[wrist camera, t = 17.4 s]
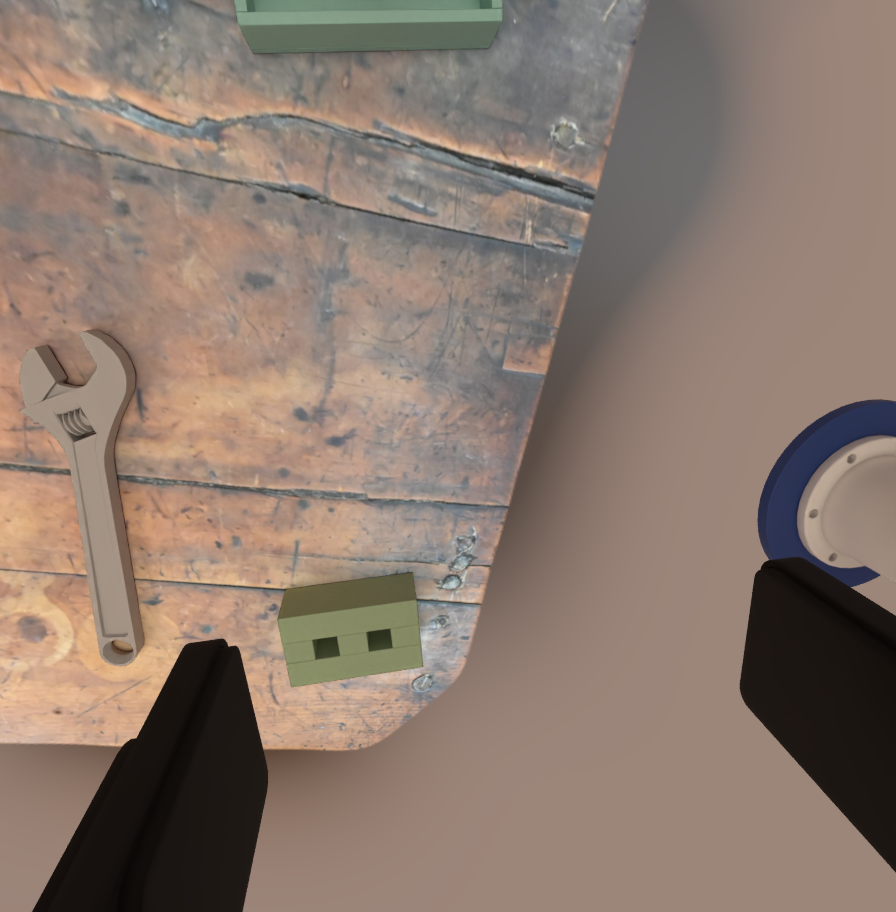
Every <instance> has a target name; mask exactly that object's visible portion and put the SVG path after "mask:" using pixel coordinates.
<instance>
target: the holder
mask: <svg viewBox="0 0 896 912" xmlns="http://www.w3.org/2000/svg"><path fill="white" fill-rule="evenodd" d="M277 621H278V626H279V631H280V636H281V641H282V644H283V650H284V655H285V659H286V663H287V664H286V665H287V670H288V674H289V679H290V684H291V687H297V686H304V685H310V684H317V683H323V682H330V681H336V680H342V679H349V678H355V677H362V676H368V675H375V674H381V673H387V672H394V671H400V670H407V669H413V668H420V667H423V658H422V649H421V639H420V629H419V619H418V609H417V600H416V593H415V586H414V579H413V573H412V572H411V573H404V574H397V575H389V576H382V577H374V578H367V579H359V580H352V581H345V582H337V583H330V584H322V585H315V586H307V587H300V588H293V589H286V590H285V593H284V597H283V600H282V604H281V608H280V611H279V615H278V618H277Z"/></svg>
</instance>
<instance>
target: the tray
mask: <svg viewBox="0 0 896 912" xmlns="http://www.w3.org/2000/svg"><path fill="white" fill-rule="evenodd" d="M234 2H235V9H236V12H237V13H236V14H237V20H238V25H239V27H240V29H241V31H242V33H243V35H244V37H245V39H246V41H247V43H248V45H249V47H250V49H251V51H252V53H254V54H255V53H300V52H345V51H390V50H435V49H480V48H489V47H490V45H491V43H492V41H493V39H494V37H495V35H496V33H497V31H498V29H499V27H500V25H501V23H502V21H503V13H502V0H234Z"/></svg>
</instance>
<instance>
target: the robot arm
mask: <svg viewBox="0 0 896 912" xmlns="http://www.w3.org/2000/svg"><path fill="white" fill-rule="evenodd" d="M797 528H798V533H799V537H800V539H801V541H802V543H803V545H804V547H805V548H806V549H807V550H808V551H809V553H810V554H812V555H813V556H815V557H816V558H817V559H819V560H821V561H823V562H824V563H826V564H828V565H831V566H835V567H839V568H855V567H862V566H866V567H868V568H870V569H872V570H873V571H875V572H877V573H879V574H880V575H882V576H884V577H886V578H887V579H889V580H891V581H893V582H895V583H896V437H894V436H886V435H877V436H868V437H865V438H862V439H859V440H855V441H853V442H851V443H849V444H847V445H845V446H843V447H842V448H841V449H839V450H838V451H836V452H835V453H833V454H832V455H831V456H830V457H829V458H828V459H827V460H826V461H824V462H823V463H822V464H821V465H820V467H819V468H818V469H817V470H816V472H815V473H814V474H813V475H812V477H811V478H810V480H809V482H808V484H807V485H806V487H805V489H804V491H803V494H802V497H801V499H800V502H799V507H798V512H797ZM740 692H741V695H742V698H743V700H744V702H745V704H746V705H747V706H748V708H749V709H750V710H751V711H752V712H753V713H754V715H755V716H756V717H757V718H758V719H759V720H760V721H761V722H762V723H763V725H764V726H765V727H766V728H767V729H768V730H769V731H770V732H771V734H772V735H773V736H774V737H775V738H776V739H777V740H778V741H779V742H780V744H781V745H782V746H783V747H784V748H785V749H786V750H787V751H788V752H789V753H790V755H791V756H792V757H793V758H794V759H795V760H796V761H797V762H798V764H799V765H800V766H801V767H802V768H803V769H804V770H805V771H806V773H807V774H808V775H809V776H810V777H811V778H812V779H813V780H814V781H815V783H816V784H817V785H818V786H819V787H820V788H821V789H822V791H823V792H824V793H825V794H826V795H827V796H828V797H829V798H830V799H831V801H832V802H833V803H834V804H835V805H836V806H837V807H838V808H839V809H840V811H841V812H842V813H843V814H844V815H845V816H846V817H847V818H848V819H849V821H850V822H851V823H852V824H853V825H854V826H855V827H856V828H857V830H858V831H859V832H860V833H861V834H862V835H863V836H864V837H865V839H867V841H868V842H869V843H870V844H871V845H872V846H873V847H874V849H876V851H877V852H878V853H879V854H880V855H881V856H882V857H883V859H884V860H886V862H887V863H888V864H889V865H890V866H891V868H892V869H893V870H894V871H895V872H896V616H895V615H893V614H892V613H890V612H889V611H887V610H886V609H884V608H882V607H881V606H879V605H878V604H876V603H874V602H873V601H871V600H870V599H868V598H866V597H865V596H863V595H862V594H860V593H858V592H857V591H855V590H854V589H852V588H851V587H849V586H847V585H846V584H844V583H843V582H841V581H839V580H838V579H836V578H835V577H833V576H831V575H830V574H828V573H827V572H825V571H824V570H822V569H820V568H819V567H817V566H816V565H814V564H812V563H811V562H809V561H808V560H806V559H804V558H802V557H788V558H781V559H775V560H768V561H766V562H764V564H763V565H762V567H761V570H759V571H758V572H757V573H756V574H755V578H754V585H753V592H752V599H751V606H750V614H749V621H748V629H747V635H746V643H745V650H744V658H743V665H742V672H741V679H740ZM267 787H268V769H267V764H266V760H265V756H264V751H263V747H262V743H261V738H260V734H259V730H258V726H257V722H256V717H255V713H254V709H253V705H252V700H251V696H250V692H249V688H248V684H247V679H246V675H245V671H244V667H243V663H242V658H241V654H240V651H239V648H238V647H237V646H230V647H228V644H227V642H226V641H225V640H224V639H215V640H208V641H201V642H194V643H188V644H186V645H185V646H184V648H183V649H182V651H181V653H180V655H179V657H178V659H177V661H176V663H175V665H174V667H173V668H172V670H171V672H170V674H169V676H168V678H167V680H166V682H165V684H164V686H163V688H162V690H161V692H160V694H159V696H158V698H157V699H156V701H155V703H154V705H153V707H152V709H151V711H150V713H149V715H148V717H147V719H146V721H145V723H144V725H143V727H142V729H141V731H140V732H139V734H138V736H137V738H135V739H130V740H129V741H128V742H126V743H125V744H124V745H123V746H122V748H121V750H120V751H119V752H118V754H117V755H116V757H115V759H114V761H113V763H112V765H111V767H110V769H109V770H108V772H107V774H106V776H105V778H104V780H103V781H102V783H101V785H100V787H99V789H98V791H97V792H96V794H95V796H94V798H93V800H92V802H91V804H90V805H89V807H88V809H87V811H86V813H85V815H84V817H83V818H82V820H81V822H80V824H79V826H78V828H77V830H76V831H75V833H74V835H73V837H72V839H71V841H70V843H69V845H68V846H67V848H66V850H65V852H64V854H63V856H62V857H61V859H60V861H59V863H58V865H57V867H56V869H55V870H54V872H53V874H52V876H51V878H50V880H49V882H48V884H47V885H46V887H45V889H44V891H43V893H42V894H41V896H40V898H39V900H38V902H37V904H36V906H35V907H34V909H33V911H32V912H242V911H243V906H244V902H245V896H246V892H247V887H248V882H249V877H250V872H251V867H252V862H253V857H254V853H255V848H256V842H257V838H258V833H259V828H260V823H261V818H262V813H263V808H264V804H265V798H266V794H267Z"/></svg>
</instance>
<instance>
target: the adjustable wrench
mask: <svg viewBox="0 0 896 912" xmlns="http://www.w3.org/2000/svg"><path fill="white" fill-rule="evenodd" d="M77 333H78V335H79V336H80V338H81V340H82V341H83V343H84V345H85V347H86V348H87V350H88V352H89V353H90V355H91V357H92V358H93V360H94V362H95V363H96V365H97V367H98V368H97V369H96V371H95V372H94V373H93V375H92V376H91V378H90V379H89V381H88V382H87V384H86V385H85V386H73V385H69V384H65V383H64V381H65V380H66V379H67V376H66V375H65V373H64V371H63V370H62V368H61V367H60V365H59V363H58V362H57V360H56V359H55V357H54V355H53V354H52V352H51V351H50V349H49V347H48V346H47V345H46V346H41V347H36V348H32V349H29V350H27V351H26V353H25V355H24V357H23V360H22V364H21V368H20V387H21V393H22V397H23V400H24V404H25V406H26V407H25V408H23V409H20V411H21V412H22V413H23V414H24V415H26V416H29V417H30V420H31V421H32V422H33V423H34V424H41V425H43V426H44V427H45V428H46V429H47V430H48V431H49V432H50V433H51V434H52V435H53V436H54V437H55V439H56V440H57V441H58V442H59V443H60V445H61V446H62V448H63V449H64V452H65V454H66V456H67V458H68V462H69V465H70V469H71V476H72V482H73V488H74V495H75V501H76V507H77V513H78V520H79V526H80V532H81V539H82V545H83V551H84V558H85V564H86V570H87V576H88V583H89V589H90V595H91V602H92V608H93V614H94V620H95V627H96V633H97V639H98V646H99V652H100V655H101V658H102V659H103V660H104V661H105V662H107V663H108V664H110V665H114V666H125V665H128V664H130V663H132V662H133V661H134V660H135V658H136V657H137V655H138V653H139V652H140V650H141V649H142V647H143V645H144V637H143V631H142V625H141V619H140V613H139V607H138V601H137V595H136V589H135V583H134V577H133V571H132V565H131V559H130V553H129V547H128V542H127V536H126V530H125V524H124V518H123V512H122V506H121V500H120V494H119V488H118V482H117V476H116V470H115V464H114V452H113V451H114V444H115V439H116V435H117V432H118V428H119V425H120V422H121V419H122V417H123V414H124V412H125V410H126V407H127V405H128V403H129V401H130V399H131V397H132V394H133V392H134V388H135V371H134V367H133V365H132V363H131V360H130V358H129V356H128V355H127V353H126V352H125V351H124V349H123V348H122V347H121V346H120V345H119V344H118V343H117V342H116V341H115V340H114V339H112V338H111V337H110V336H108V335H106V334H104V333H102V332H100V331H99V330H88V331H82V332H77ZM38 402H39V403H38ZM35 403H36V404H35ZM30 405H31V406H30ZM27 406H28V407H27ZM91 431H95V432H96V433H93V434H91V435H88V436H85V437H83V436H82V435H83V434H84V433H89V432H91ZM114 640H121V641H124V642H126V643H128V644H130V645H131V647H132V648H133V651H132V652H122V651H119V650H118V649H116V648H115V647H114V646H113V645H112V643H111V642H112V641H114Z"/></svg>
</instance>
